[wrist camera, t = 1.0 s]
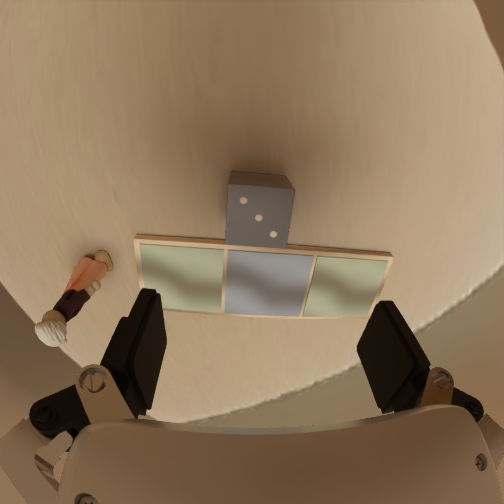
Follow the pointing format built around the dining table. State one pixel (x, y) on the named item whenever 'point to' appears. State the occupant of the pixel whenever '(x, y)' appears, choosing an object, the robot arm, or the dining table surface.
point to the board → (260, 278)
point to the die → (258, 210)
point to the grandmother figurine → (73, 298)
